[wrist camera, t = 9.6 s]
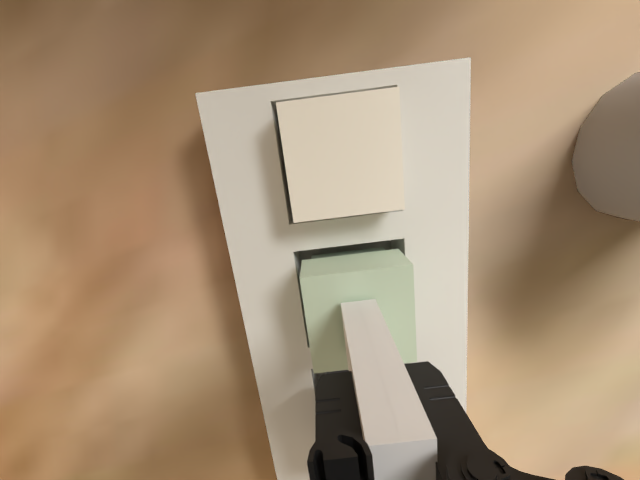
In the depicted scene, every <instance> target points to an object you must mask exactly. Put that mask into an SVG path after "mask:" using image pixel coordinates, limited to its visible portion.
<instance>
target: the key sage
mask: <svg viewBox="0 0 640 480" xmlns="http://www.w3.org/2000/svg"><path fill="white" fill-rule="evenodd" d="M300 285H301V291H302V298H303V305H304V311H305V318H306V325H307V332H308V338H309V345H310V352H311V358H312V365H313V372H314V374H315V373H323V372H332V371H341V370H349V369H348V363H347V356H346V347H345V338H344V329H343V321H342V312H341V303H344V302H353V301H362V300H370V299H376V301H377V304H378V306H379V308H380V310H381V313H382V315H383V317H384V320H385V322H386V324H387V326H388V329H389V331H390V333H391V335H392V338H393V340H394V342H395V344H396V347H397V349H398V351H399V354H400V356H401V358H402V360H403V363H413V362H417V347H416V321H415V296H414V270H413V264H412V263H411V262H410V261H409V260H408V258H407V257H406V256H405V255H404V254H403V253H402V252H401V251H400V250H399V249H391V250H385V249H384V248H383V247H378V248H370V249H361V250H353V251H344V252H336V253H328V254H319V255H311V259H307V260H302V264H301V271H300Z"/></svg>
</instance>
